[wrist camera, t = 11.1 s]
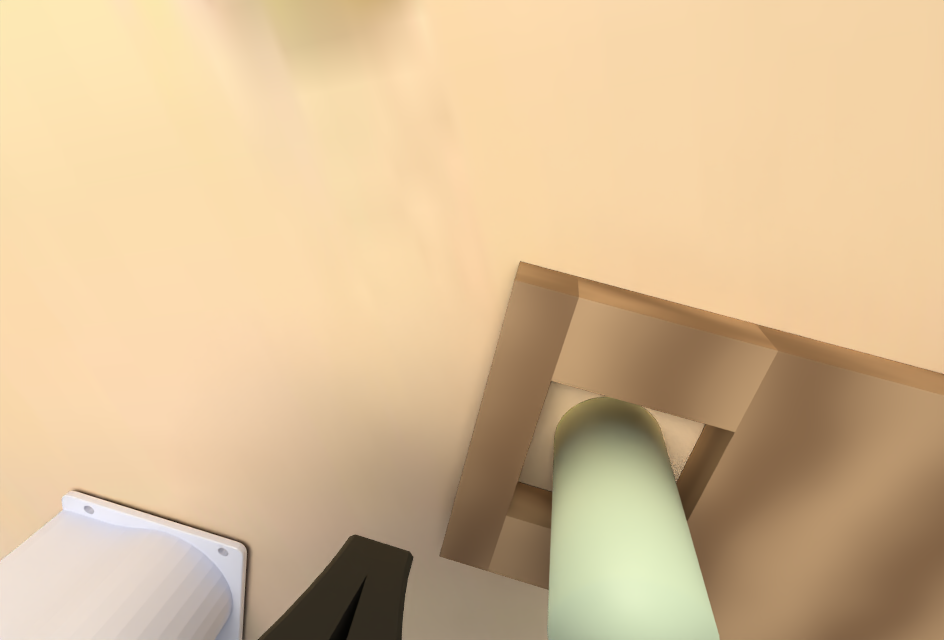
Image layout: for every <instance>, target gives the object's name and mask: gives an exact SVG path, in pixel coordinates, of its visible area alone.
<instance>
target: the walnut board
mask: <svg viewBox="0 0 944 640" xmlns="http://www.w3.org/2000/svg"><path fill="white" fill-rule="evenodd" d="M551 381H554V382H558V383H561V384H565V385H568V386H572V387H575V388H579V389H583V390H586V391H590V392H593V393H597V394H600V395H604V396H608V397H611V398H615V399H618V400H622V401H625V402H629V403H633V404H636V405H640V406H643V407H647V408H650V409H654V410H657V411H661V412H665V413H668V414H672V415H675V416H679V417H682V418H686V419H690V420H693V421H697V422H700V423H704V424H706V425H705V427H704V429H703V431H702V433H701V435H700V437H699V439H698V441H697V443H696V445H695V447H694V449H693V451H692V453H691V455H690V457H689V459H688V461H687V463H686V465H685V467H684V469H683V471H682V473H681V475H680V477H679V479H678V481H677V483H676V485H677V488H678V492H679V495H680V499H681V503H682V506H683V510H684V513H685V517H686V520H687V524H688V527H689V531H690V534H691V538H692V541H693V545H694V548H695V552H696V555H697V559H698V563H699V566H700V570H701V573H702V577H703V580H704V584H705V587H706V591H707V594H708V598H709V601H710V605H711V608H712V612H713V616H714V619H715V623H716V626H717V630H718V633H719V639H720V640H944V374H941V373H937V372H933V371H929V370H926V369H922V368H918V367H914V366H911V365H907V364H903V363H899V362H896V361H892V360H888V359H884V358H881V357H877V356H873V355H869V354H866V353H862V352H858V351H854V350H851V349H847V348H843V347H839V346H836V345H832V344H828V343H824V342H821V341H817V340H813V339H809V338H806V337H802V336H798V335H794V334H791V333H787V332H783V331H779V330H775V329H772V328H768V327H764V326H760V325H757V324H753V323H749V322H745V321H742V320H738V319H734V318H730V317H727V316H723V315H719V314H715V313H712V312H708V311H704V310H700V309H697V308H693V307H689V306H685V305H682V304H678V303H674V302H670V301H667V300H663V299H659V298H655V297H652V296H648V295H644V294H640V293H637V292H633V291H629V290H625V289H622V288H618V287H614V286H610V285H607V284H603V283H599V282H595V281H592V280H588V279H584V278H580V277H577V276H573V275H569V274H565V273H562V272H558V271H554V270H550V269H547V268H543V267H539V266H535V265H532V264H528V263H524V262H520V264H519V267H518V271H517V274H516V278H515V281H514V285H513V288H512V292H511V296H510V299H509V303H508V307H507V310H506V314H505V318H504V321H503V325H502V329H501V332H500V336H499V340H498V343H497V347H496V351H495V354H494V358H493V362H492V365H491V369H490V373H489V376H488V380H487V384H486V387H485V391H484V395H483V398H482V402H481V406H480V409H479V413H478V417H477V420H476V424H475V427H474V431H473V435H472V438H471V442H470V446H469V449H468V453H467V457H466V460H465V464H464V468H463V471H462V475H461V479H460V482H459V486H458V490H457V493H456V497H455V501H454V504H453V508H452V512H451V515H450V519H449V523H448V526H447V530H446V534H445V537H444V541H443V545H442V548H441V552H440V557H443V558H447V559H450V560H453V561H456V562H460V563H463V564H466V565H470V566H473V567H476V568H479V569H483V570H486V571H489V572H492V573H496V574H499V575H502V576H505V577H509V578H512V579H515V580H518V581H522V582H525V583H528V584H532V585H535V586H538V587H541V588H545V589H548V590H549V572H550V545H551V518H552V492H550V491H547V490H543V489H540V488H536V487H533V486H530V485H526V484H523V483H519V482H518V479H519V476H520V473H521V470H522V467H523V464H524V461H525V458H526V455H527V452H528V449H529V446H530V443H531V440H532V437H533V434H534V431H535V428H536V425H537V422H538V419H539V416H540V413H541V410H542V407H543V404H544V401H545V398H546V395H547V392H548V389H549V386H550V383H551Z"/></svg>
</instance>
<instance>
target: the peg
mask: <svg viewBox="0 0 944 640" xmlns="http://www.w3.org/2000/svg"><path fill="white" fill-rule="evenodd" d="M547 632H548V640H720V639H719V633H718V630H717V626H716V623H715V619H714V616H713V612H712V608H711V605H710V601H709V598H708V594H707V591H706V587H705V584H704V580H703V577H702V573H701V570H700V566H699V563H698V559H697V555H696V552H695V548H694V545H693V541H692V538H691V534H690V531H689V527H688V524H687V520H686V517H685V513H684V510H683V506H682V503H681V499H680V495H679V492H678V488H677V485H676V481H675V478H674V474H673V471H672V467H671V464H670V460H669V457H668V453H667V450H666V446H665V442H664V439H663V435H662V432H661V429H660V427H659V424H658V423H657V421H656V420H655V418H654V417H653V416H652V415H651V414H650V413H649V412H648V411H647V410H646V409H645V408H643V407H641V406H640V405H636V404H633V403H629V402H625V401H622V400H618V399H615V398H611V397H600V398H594V399H589V400H587V401H584V402H581V403H579V404H577V405H576V406H574V407H573V408H571V409H570V410H569V411H568V412H567V413H566V414H565V415H564V416H563V417H562V419H561V420H560V422H559V423H558V426H557V428H556V432H555V438H554V464H553V491H552V518H551V545H550V572H549V599H548V626H547Z"/></svg>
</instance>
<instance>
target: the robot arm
mask: <svg viewBox="0 0 944 640" xmlns="http://www.w3.org/2000/svg"><path fill="white" fill-rule="evenodd" d="M62 506H63V510H62V511H61V512H60V513H58V514H57V515H56V516H55V517H53V518H52V519H51V520H50V521H48V522H47V523H46V524H45V525H44V526H42V527H41V528H40V529H39V530H37V531H36V532H35V533H34V534H33V535H31V536H30V537H29V538H28V539H26V540H25V541H24V542H23V543H22V544H20V545H19V546H18V547H17V548H15V549H14V550H13V551H12V552H10V553H9V554H8V555H7V556H6V557H4V558H3V559H2V560H1V561H0V640H242V631H243V613H244V595H245V577H246V560H247V550H246V548H245V546H244V545H243V544H241V543H239V542H237V541H234V540H230V539H227V538H224V537H221V536H217V535H214V534H211V533H208V532H205V531H201V530H198V529H195V528H192V527H189V526H185V525H182V524H179V523H176V522H173V521H169V520H166V519H163V518H160V517H157V516H153V515H150V514H147V513H144V512H141V511H137V510H134V509H131V508H128V507H125V506H121V505H118V504H115V503H112V502H109V501H105V500H102V499H99V498H96V497H93V496H89V495H86V494H83V493H80V492H77V491H69V492H68V493H67V494H65V495H64V496H63V497H62ZM412 561H413V556H412V554H411V553H410V552H409V551H406V550H403V549H400V548H397V547H393V546H390V545H387V544H384V543H381V542H378V541H374V540H371V539H368V538H365V537H362V536H358V535H353V536H350V537H349V538H348V540H347V541H346V543H345V544H344V545H343V547H342V548H341V549H340V551H339V552H338V553H337V555H336V556H335V557H334V558H333V560H332V561H331V562H330V563H329V565H328V566H327V567H326V568H325V569H324V571H323V572H322V573H321V574H320V575H319V576H318V577H317V579H316V580H315V581H314V582H313V583H312V584H311V585H310V587H309V588H308V589H307V590H306V591H305V592H304V593H303V594H302V595H301V596H300V597H299V598H298V599H297V600H296V602H295V603H294V604H293V605H292V606H291V607H290V608H289V609H288V610H287V611H286V612H285V613H284V614H283V615H282V616H281V617H280V618H279V619H278V620H277V621H276V622H275V623H274V624H273V625H272V626H271V627H270V628H269V629H268V630H267V631H266V632H265V633H264V634H263V635H262V636H261V637H260V638H259V639H258V640H402V622H403V611H404V601H405V593H406V586H407V581H408V576H409V572H410V568H411V565H412Z"/></svg>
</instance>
